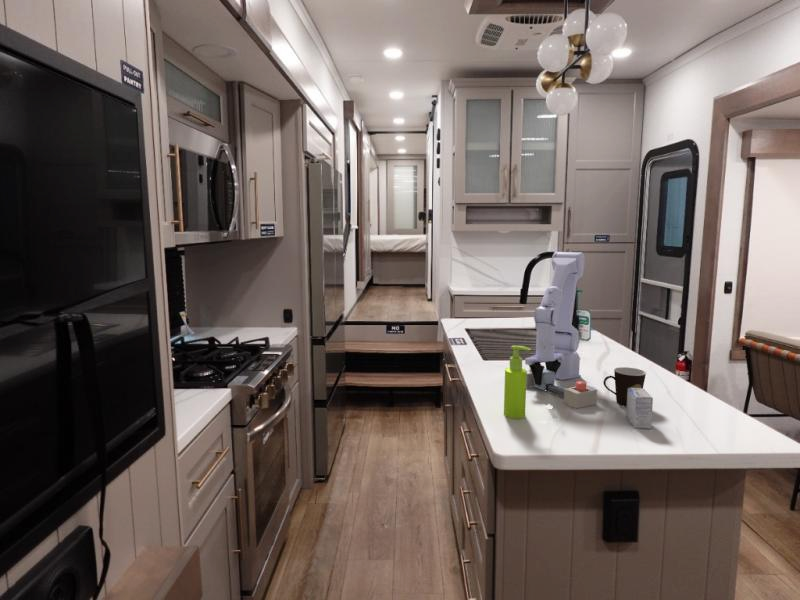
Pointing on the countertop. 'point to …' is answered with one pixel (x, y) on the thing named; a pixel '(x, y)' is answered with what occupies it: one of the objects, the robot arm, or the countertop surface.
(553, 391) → the rail
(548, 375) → the carriage
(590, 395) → the cabinet
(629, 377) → the coffee mug
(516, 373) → the soap dispenser
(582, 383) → the red rounded piece
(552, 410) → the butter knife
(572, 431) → the countertop surface
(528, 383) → the cabinet
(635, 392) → the medicine box
